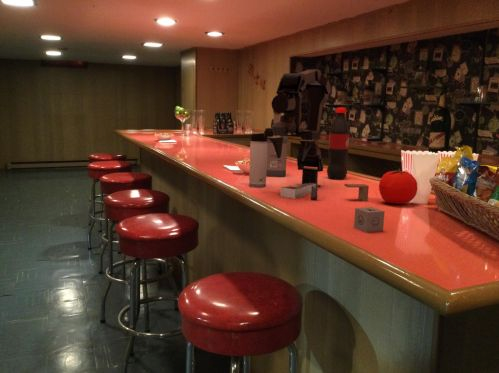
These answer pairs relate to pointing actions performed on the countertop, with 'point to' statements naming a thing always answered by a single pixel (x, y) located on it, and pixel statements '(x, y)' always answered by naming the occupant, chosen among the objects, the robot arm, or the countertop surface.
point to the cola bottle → (338, 146)
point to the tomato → (398, 187)
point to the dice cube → (369, 219)
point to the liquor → (275, 164)
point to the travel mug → (258, 160)
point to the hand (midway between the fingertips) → (290, 159)
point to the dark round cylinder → (314, 192)
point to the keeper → (360, 191)
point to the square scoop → (296, 190)
